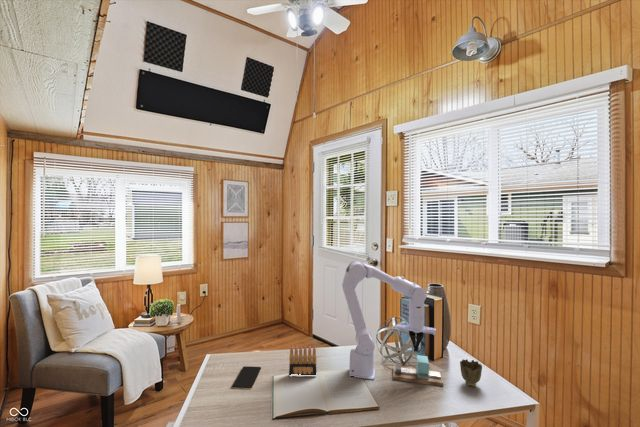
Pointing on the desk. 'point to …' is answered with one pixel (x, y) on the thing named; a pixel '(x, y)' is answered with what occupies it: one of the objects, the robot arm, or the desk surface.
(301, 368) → the ammunition clip
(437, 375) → the rail
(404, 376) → the mounting board
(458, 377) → the desk surface
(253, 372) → the smartphone
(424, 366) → the block
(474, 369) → the cup
